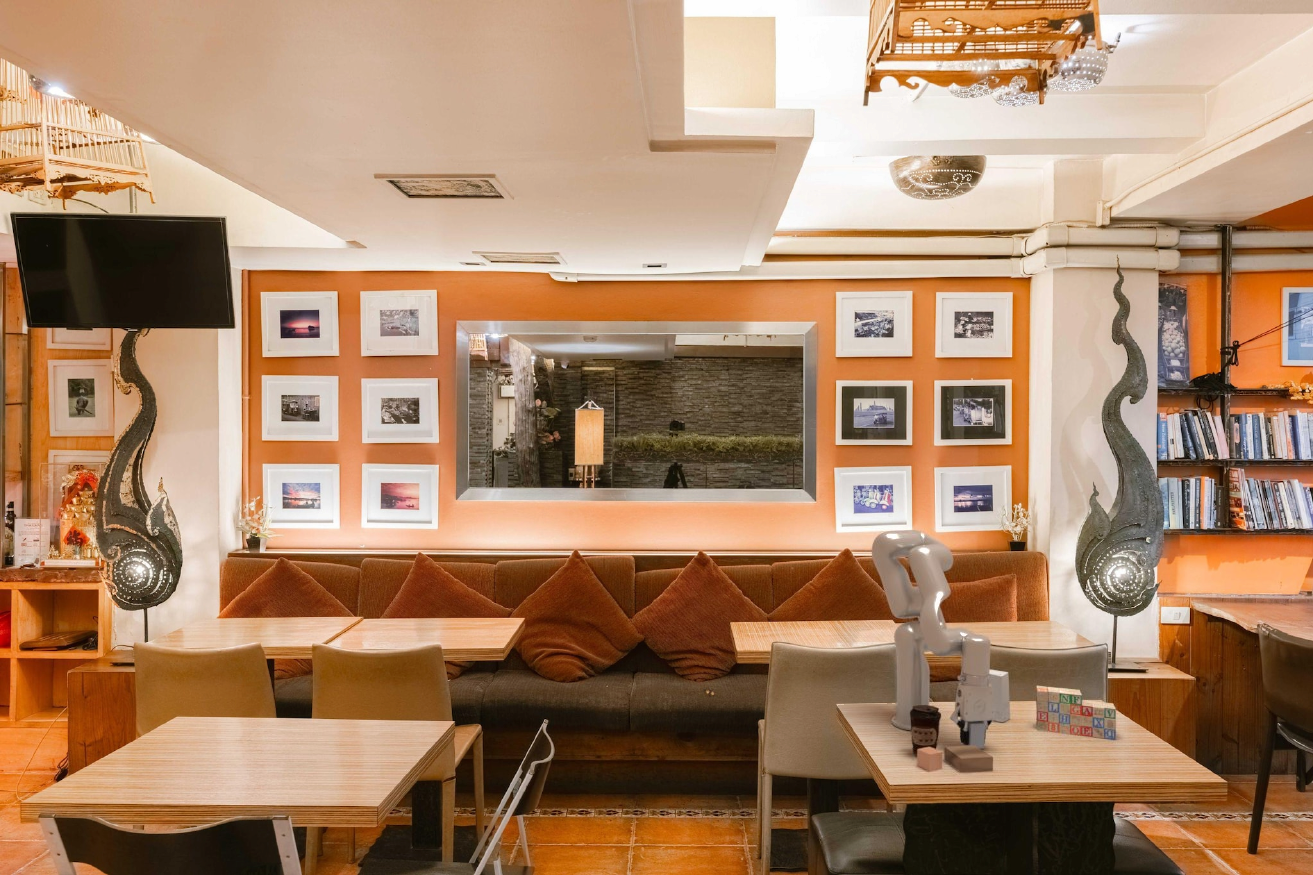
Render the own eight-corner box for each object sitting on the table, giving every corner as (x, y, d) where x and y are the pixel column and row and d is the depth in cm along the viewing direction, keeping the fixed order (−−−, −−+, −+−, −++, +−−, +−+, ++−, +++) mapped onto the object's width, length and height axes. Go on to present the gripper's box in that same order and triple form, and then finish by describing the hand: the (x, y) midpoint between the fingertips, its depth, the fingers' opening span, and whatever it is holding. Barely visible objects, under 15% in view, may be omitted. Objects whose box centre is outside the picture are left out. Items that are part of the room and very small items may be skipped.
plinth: (944, 761, 231) (944, 746, 231) (974, 759, 232) (974, 745, 232) (961, 773, 222) (961, 758, 222) (992, 772, 223) (993, 756, 224)
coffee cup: (940, 762, 229) (940, 714, 229) (908, 757, 232) (908, 710, 232) (941, 751, 237) (941, 705, 238) (910, 747, 240) (910, 701, 240)
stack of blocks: (1113, 734, 255) (1113, 693, 255) (1116, 740, 249) (1116, 698, 249) (1035, 724, 263) (1036, 684, 263) (1036, 730, 257) (1036, 689, 257)
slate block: (960, 742, 242) (961, 718, 241) (974, 741, 243) (975, 717, 243) (970, 748, 237) (971, 724, 237) (984, 747, 238) (985, 723, 238)
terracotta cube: (917, 765, 226) (917, 749, 227) (929, 763, 229) (929, 746, 229) (929, 771, 223) (930, 754, 223) (942, 768, 225) (942, 751, 225)
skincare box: (1010, 719, 267) (1010, 672, 267) (1002, 723, 263) (1002, 675, 263) (984, 713, 273) (984, 667, 273) (976, 717, 269) (976, 670, 269)
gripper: (956, 684, 234) (953, 749, 234) (1009, 681, 238) (1006, 746, 238) (941, 676, 241) (938, 739, 242) (992, 673, 245) (990, 736, 246)
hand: (972, 742), depth 240 cm, fingers closed on slate block, 4 cm apart
